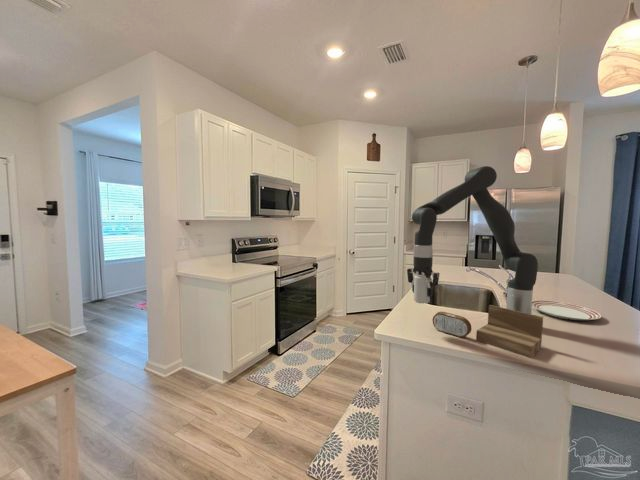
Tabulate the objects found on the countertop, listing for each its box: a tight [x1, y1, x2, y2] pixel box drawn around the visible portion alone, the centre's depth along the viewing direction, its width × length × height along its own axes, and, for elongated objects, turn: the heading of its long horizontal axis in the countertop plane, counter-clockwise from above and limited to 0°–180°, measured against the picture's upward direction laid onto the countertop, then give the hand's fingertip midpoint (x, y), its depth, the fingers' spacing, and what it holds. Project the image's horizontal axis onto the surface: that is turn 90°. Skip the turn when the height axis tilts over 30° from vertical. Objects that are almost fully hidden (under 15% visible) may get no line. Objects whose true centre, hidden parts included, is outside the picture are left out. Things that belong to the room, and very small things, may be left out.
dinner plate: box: [532, 299, 603, 321], centre depth 142 cm, size 28×27×3 cm
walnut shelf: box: [475, 304, 544, 359], centre depth 107 cm, size 12×18×12 cm, turn 39°
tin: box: [432, 311, 472, 338], centre depth 117 cm, size 15×3×8 cm, turn 45°
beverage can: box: [413, 274, 431, 304], centre depth 119 cm, size 6×6×12 cm
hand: (422, 294), depth 119 cm, fingers closed on beverage can, 6 cm apart
